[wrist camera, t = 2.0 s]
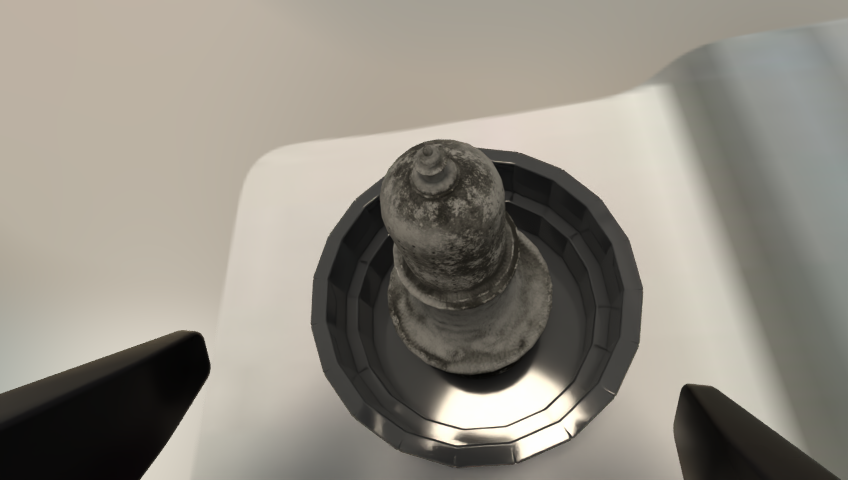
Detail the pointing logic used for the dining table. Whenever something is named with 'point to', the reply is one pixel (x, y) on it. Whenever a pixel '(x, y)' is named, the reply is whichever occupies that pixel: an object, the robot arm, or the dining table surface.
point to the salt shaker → (460, 263)
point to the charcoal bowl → (513, 389)
